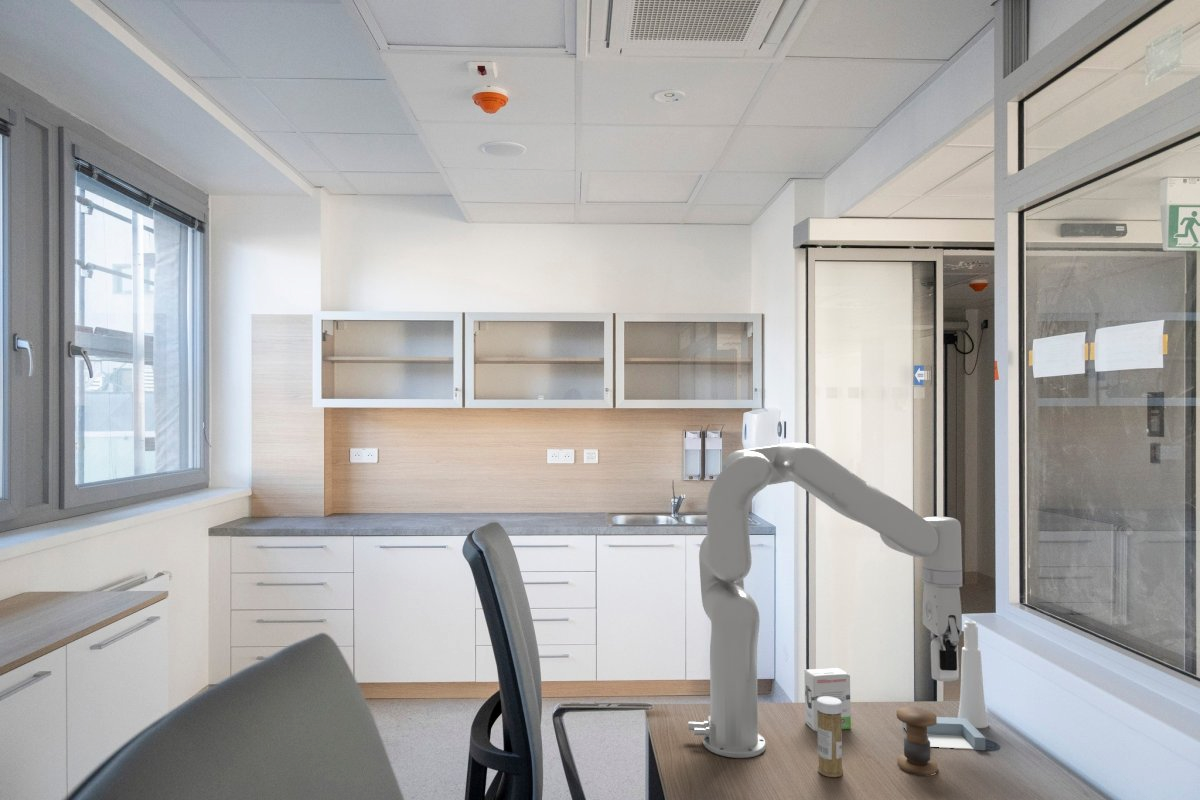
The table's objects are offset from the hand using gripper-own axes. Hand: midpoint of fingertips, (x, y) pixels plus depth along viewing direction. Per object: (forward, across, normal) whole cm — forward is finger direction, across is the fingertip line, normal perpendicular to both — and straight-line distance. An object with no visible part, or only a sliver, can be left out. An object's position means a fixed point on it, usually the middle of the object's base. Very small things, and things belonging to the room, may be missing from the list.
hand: (944, 665), depth 149 cm
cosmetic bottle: (+16, -11, +10) cm, 21 cm away
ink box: (+16, -6, -22) cm, 28 cm away
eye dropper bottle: (+3, 0, 0) cm, 3 cm away
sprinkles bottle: (+16, +16, -26) cm, 35 cm away
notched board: (+16, -2, 0) cm, 16 cm away
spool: (+16, +12, -10) cm, 22 cm away
